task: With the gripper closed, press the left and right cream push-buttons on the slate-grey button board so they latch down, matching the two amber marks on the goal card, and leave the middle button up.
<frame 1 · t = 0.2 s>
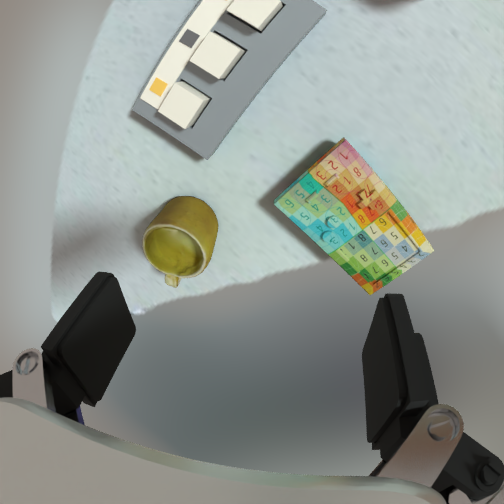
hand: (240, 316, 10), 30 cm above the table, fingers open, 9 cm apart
button middle: (218, 55, 28), point 4 cm above the table, slide at 0.0 cm
puzzle game: (357, 213, 40), on the table
button board: (225, 56, 31), on the table
mug: (190, 229, 46), on the table
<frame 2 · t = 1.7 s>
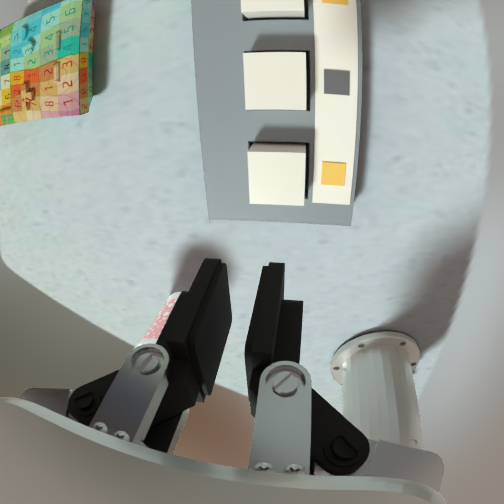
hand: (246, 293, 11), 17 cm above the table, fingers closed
button middle: (276, 80, 19), point 4 cm above the table, slide at 0.0 cm
puzzle game: (38, 66, 23), on the table
button board: (280, 79, 22), on the table
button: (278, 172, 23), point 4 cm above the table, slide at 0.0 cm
beverage cup: (185, 304, 37), on the table
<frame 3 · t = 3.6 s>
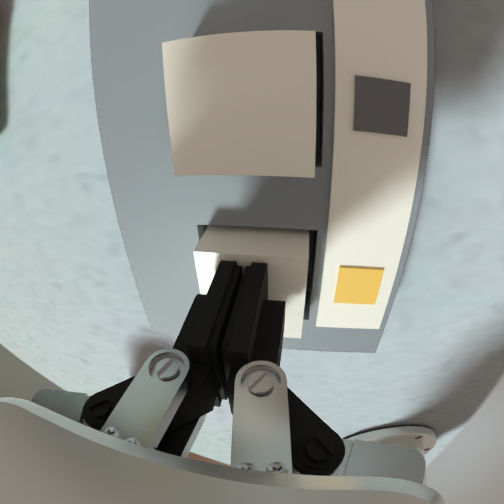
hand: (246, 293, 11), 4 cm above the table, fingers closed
button middle: (248, 99, 8), point 3 cm above the table, slide at 0.0 cm
button board: (263, 93, 11), on the table
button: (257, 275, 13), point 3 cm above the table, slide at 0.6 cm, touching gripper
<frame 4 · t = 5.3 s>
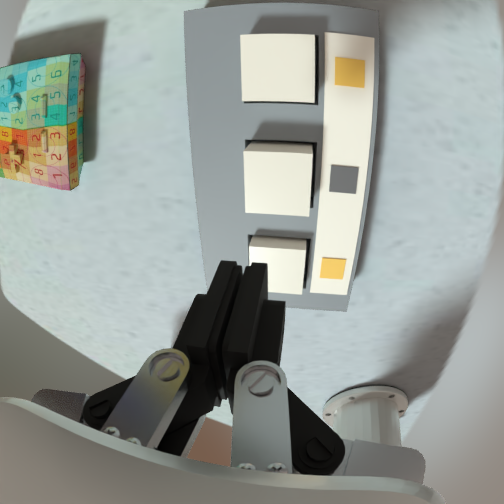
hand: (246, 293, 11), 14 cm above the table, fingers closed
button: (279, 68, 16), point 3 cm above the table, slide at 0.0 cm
button middle: (279, 176, 19), point 3 cm above the table, slide at 0.0 cm
puzzle game: (28, 114, 23), on the table
button board: (283, 162, 22), on the table
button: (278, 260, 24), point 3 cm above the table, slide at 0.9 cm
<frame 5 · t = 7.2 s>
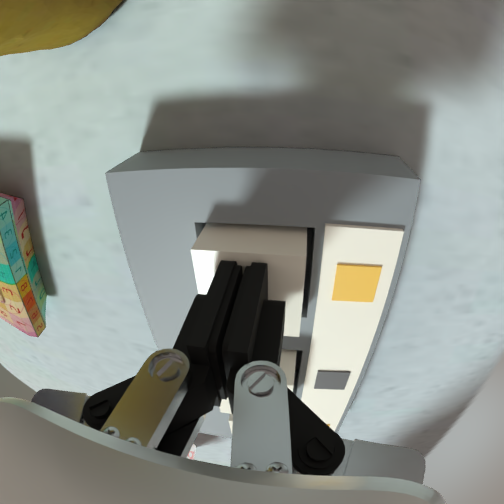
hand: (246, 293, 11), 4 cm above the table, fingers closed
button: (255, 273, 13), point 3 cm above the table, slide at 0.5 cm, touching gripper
button middle: (257, 378, 16), point 3 cm above the table, slide at 0.0 cm
button board: (265, 333, 19), on the table
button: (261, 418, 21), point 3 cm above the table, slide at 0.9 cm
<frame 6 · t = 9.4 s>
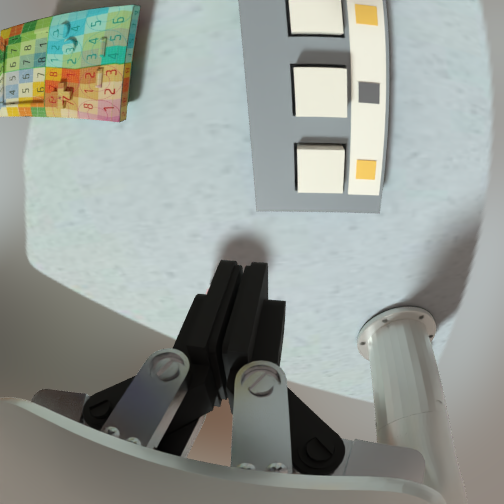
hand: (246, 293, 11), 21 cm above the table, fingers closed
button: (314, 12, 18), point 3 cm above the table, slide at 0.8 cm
button middle: (319, 90, 22), point 3 cm above the table, slide at 0.0 cm
puzzle game: (70, 62, 25), on the table
button board: (317, 87, 24), on the table
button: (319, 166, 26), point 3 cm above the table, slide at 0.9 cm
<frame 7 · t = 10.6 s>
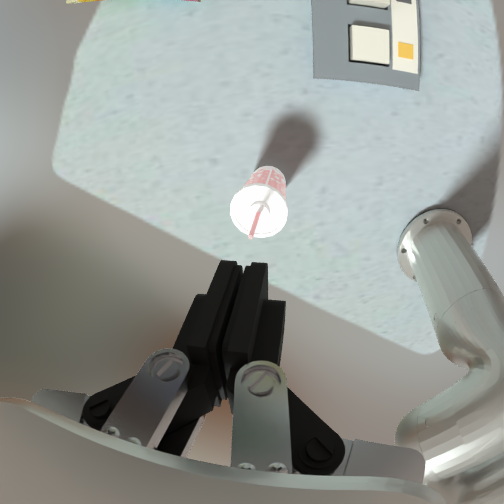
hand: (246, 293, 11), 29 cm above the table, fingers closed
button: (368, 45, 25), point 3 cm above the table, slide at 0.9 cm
beverage cup: (268, 181, 40), on the table
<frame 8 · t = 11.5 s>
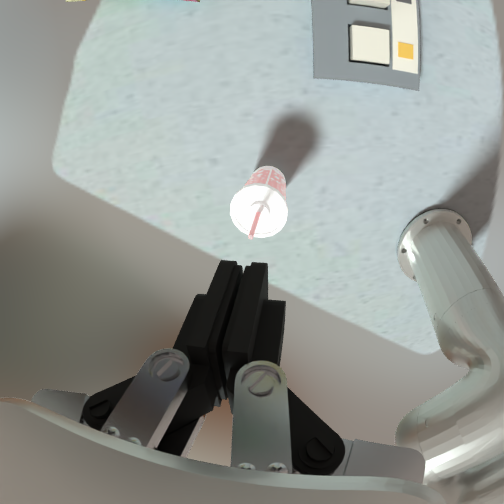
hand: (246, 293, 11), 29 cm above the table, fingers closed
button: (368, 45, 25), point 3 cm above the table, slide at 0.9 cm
beverage cup: (268, 181, 40), on the table
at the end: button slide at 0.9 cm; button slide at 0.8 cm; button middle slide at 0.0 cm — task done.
